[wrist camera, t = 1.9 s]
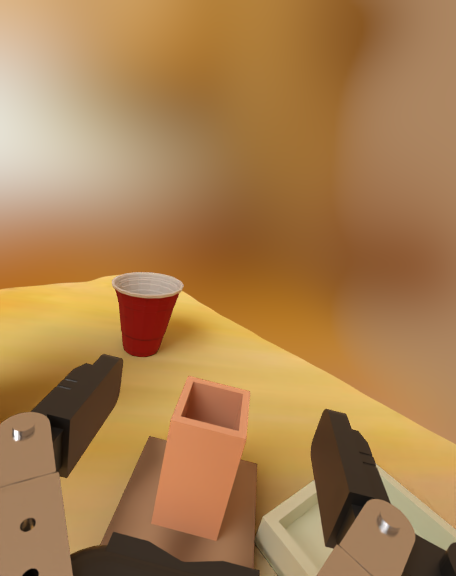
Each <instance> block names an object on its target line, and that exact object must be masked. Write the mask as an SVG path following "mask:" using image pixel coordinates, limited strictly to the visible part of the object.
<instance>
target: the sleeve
mask: <svg viewBox="0 0 456 576" xmlns="http://www.w3.org/2000/svg"><path fill="white" fill-rule="evenodd" d="M249 399H250V391H247V390H243V389H239V388H235V387H231V386H227V385H223V384H219V383H215V382H211V381H207V380H203V379H199V378H195V377H191V376H188V378H187V380H186V383H185V385H184V388H183V390H182V393H181V395H180V398H179V400H178V403H177V405H176V408H175V411H174V413H173V416H172V418H171V421H170V427H169V432H168V437H167V443H166V448H165V453H164V458H163V464H162V469H161V474H160V479H159V485H158V490H157V495H156V501H155V506H154V511H153V516H152V522H151V524H154V525H158V526H162V527H166V528H169V529H173V530H177V531H181V532H184V533H188V534H192V535H195V536H199V537H203V538H207V539H210V540H214V541H217V537H218V534H219V530H220V527H221V524H222V520H223V517H224V513H225V510H226V507H227V503H228V500H229V496H230V493H231V490H232V486H233V483H234V479H235V476H236V473H237V469H238V466H239V462H240V459H241V456H242V452H243V449H244V445H245V442H246V437H247V424H248V412H249Z"/></svg>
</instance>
